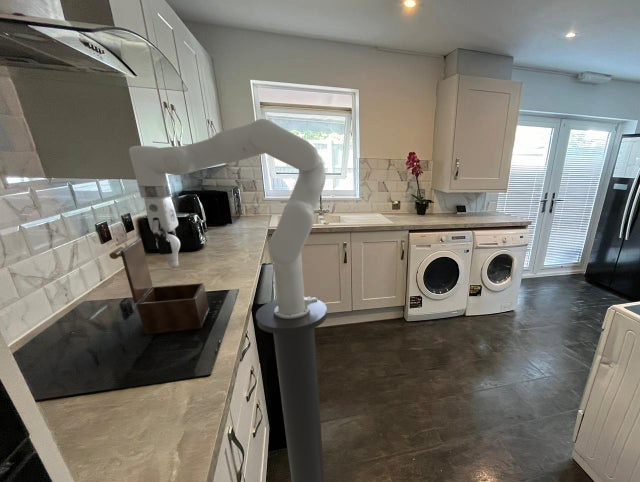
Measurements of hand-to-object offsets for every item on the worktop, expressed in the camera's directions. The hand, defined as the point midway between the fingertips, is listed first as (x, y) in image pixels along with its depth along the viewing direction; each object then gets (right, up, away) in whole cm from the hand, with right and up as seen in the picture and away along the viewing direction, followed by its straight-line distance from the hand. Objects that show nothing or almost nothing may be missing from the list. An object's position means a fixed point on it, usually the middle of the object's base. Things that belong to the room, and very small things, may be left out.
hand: (169, 250), depth 101 cm
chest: (-3, -24, +9) cm, 25 cm away
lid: (-9, -6, -1) cm, 11 cm away
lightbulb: (0, -6, +3) cm, 6 cm away
